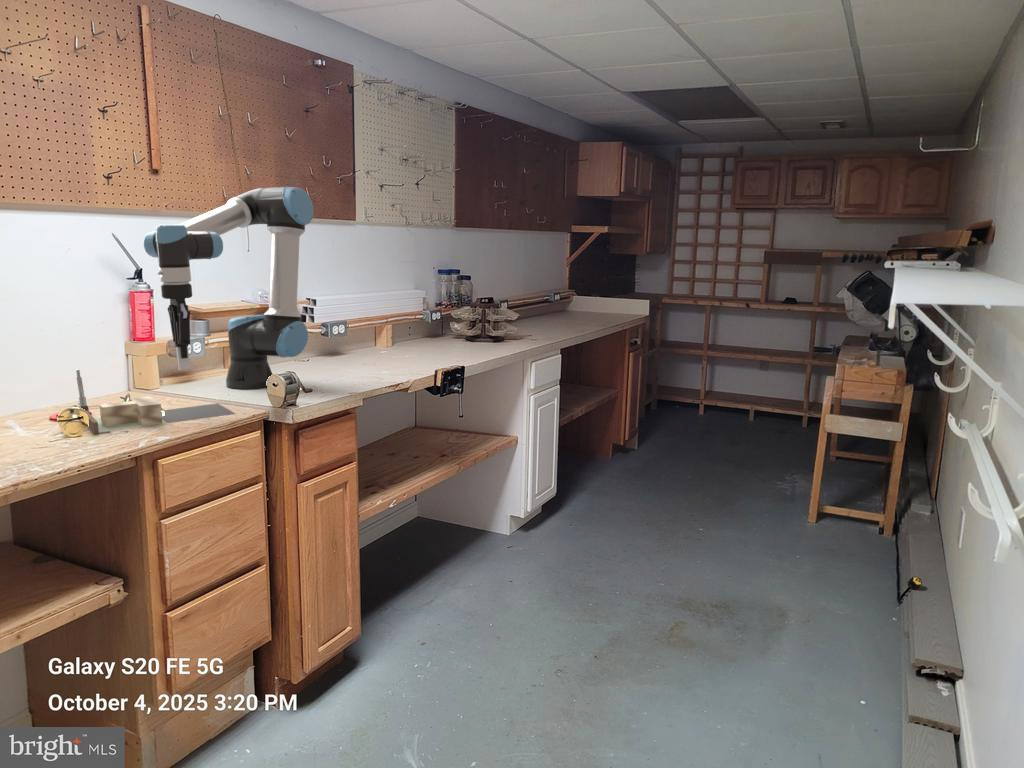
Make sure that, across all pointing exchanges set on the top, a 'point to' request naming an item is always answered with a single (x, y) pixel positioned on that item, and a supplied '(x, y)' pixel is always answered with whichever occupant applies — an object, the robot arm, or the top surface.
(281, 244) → the robot arm
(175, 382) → the top surface
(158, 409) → the t block
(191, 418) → the mat
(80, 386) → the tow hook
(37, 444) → the top surface
